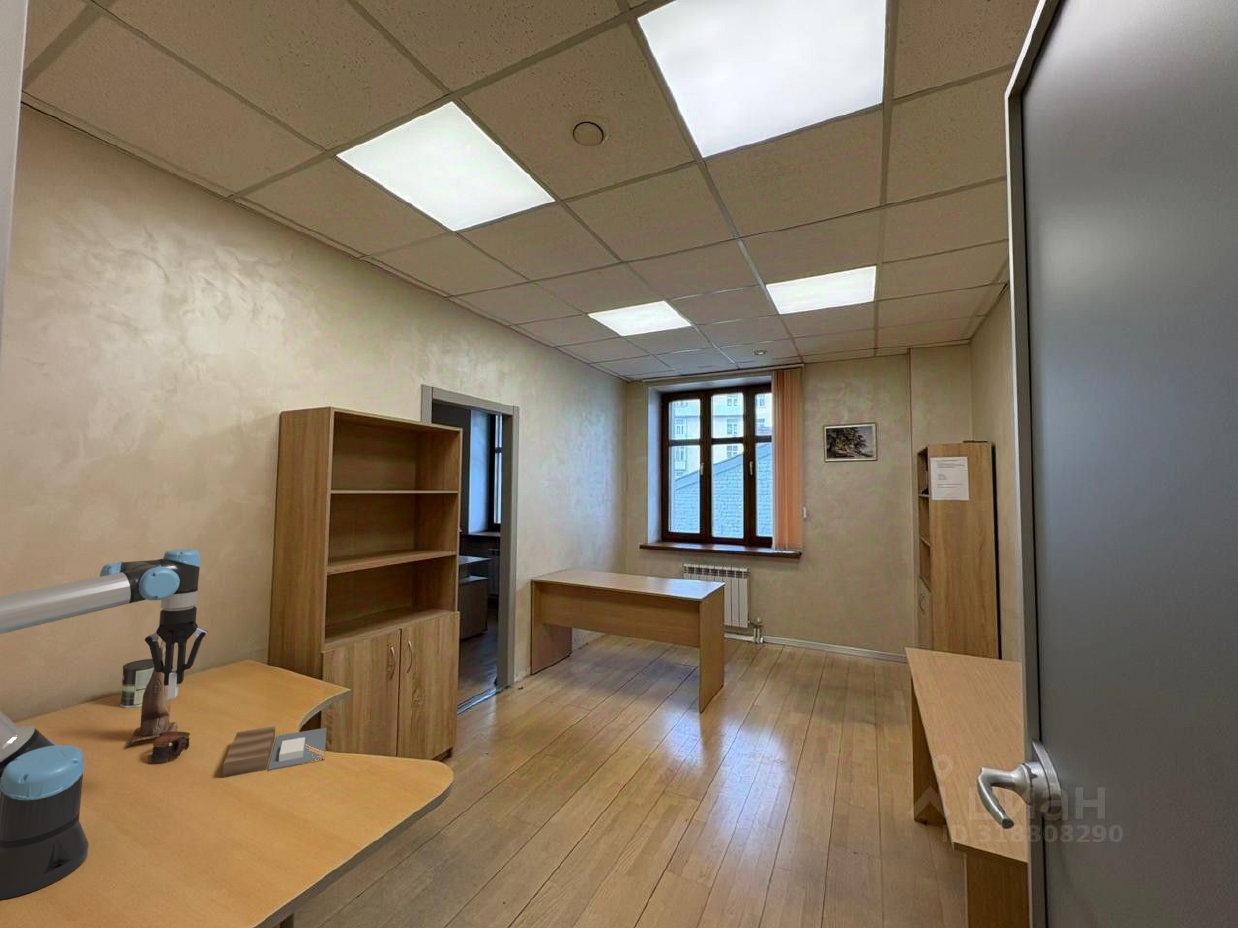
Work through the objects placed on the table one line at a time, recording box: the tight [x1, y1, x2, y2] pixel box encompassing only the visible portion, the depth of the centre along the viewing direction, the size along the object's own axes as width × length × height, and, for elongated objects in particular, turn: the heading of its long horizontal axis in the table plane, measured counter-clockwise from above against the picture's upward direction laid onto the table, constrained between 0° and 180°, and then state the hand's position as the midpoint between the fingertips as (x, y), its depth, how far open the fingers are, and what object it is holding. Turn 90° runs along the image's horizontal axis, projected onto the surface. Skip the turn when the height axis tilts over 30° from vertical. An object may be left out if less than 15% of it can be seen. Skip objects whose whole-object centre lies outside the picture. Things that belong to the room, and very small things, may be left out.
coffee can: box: [119, 658, 154, 709], centre depth 189 cm, size 10×10×14 cm
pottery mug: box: [147, 730, 191, 764], centre depth 153 cm, size 12×10×8 cm
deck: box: [222, 725, 276, 778], centre depth 154 cm, size 20×10×4 cm, turn 28°
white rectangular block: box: [279, 737, 305, 761], centre depth 156 cm, size 9×6×2 cm, turn 28°
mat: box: [267, 727, 328, 772], centre depth 160 cm, size 22×14×1 cm, turn 28°
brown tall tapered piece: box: [125, 639, 179, 750], centre depth 164 cm, size 11×12×32 cm
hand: (172, 696), depth 137 cm, fingers closed
